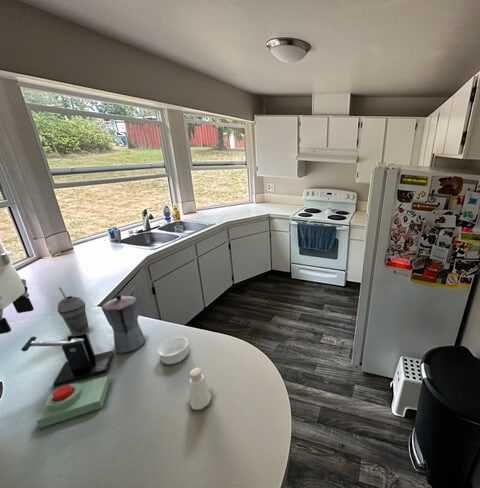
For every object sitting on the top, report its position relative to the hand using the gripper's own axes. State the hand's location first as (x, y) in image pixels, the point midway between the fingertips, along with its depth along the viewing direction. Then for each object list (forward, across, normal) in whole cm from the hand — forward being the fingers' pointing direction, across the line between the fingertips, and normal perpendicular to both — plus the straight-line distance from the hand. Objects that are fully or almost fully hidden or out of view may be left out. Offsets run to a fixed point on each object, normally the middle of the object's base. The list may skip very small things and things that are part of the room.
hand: (14, 321), depth 66 cm
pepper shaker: (+24, +24, +42) cm, 53 cm away
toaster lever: (+12, -3, +4) cm, 13 cm away
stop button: (+19, +11, +9) cm, 24 cm away
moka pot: (+23, -10, +19) cm, 31 cm away
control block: (+23, +11, +11) cm, 28 cm away
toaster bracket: (+23, -3, +8) cm, 24 cm away
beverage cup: (+23, -24, 0) cm, 33 cm away
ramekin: (+24, +2, +34) cm, 41 cm away
